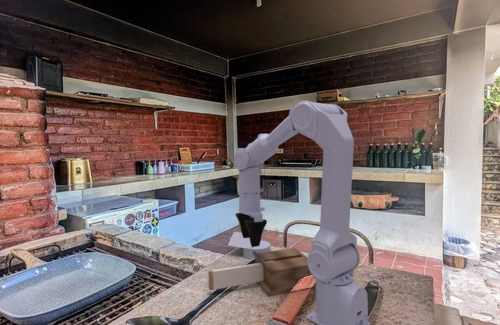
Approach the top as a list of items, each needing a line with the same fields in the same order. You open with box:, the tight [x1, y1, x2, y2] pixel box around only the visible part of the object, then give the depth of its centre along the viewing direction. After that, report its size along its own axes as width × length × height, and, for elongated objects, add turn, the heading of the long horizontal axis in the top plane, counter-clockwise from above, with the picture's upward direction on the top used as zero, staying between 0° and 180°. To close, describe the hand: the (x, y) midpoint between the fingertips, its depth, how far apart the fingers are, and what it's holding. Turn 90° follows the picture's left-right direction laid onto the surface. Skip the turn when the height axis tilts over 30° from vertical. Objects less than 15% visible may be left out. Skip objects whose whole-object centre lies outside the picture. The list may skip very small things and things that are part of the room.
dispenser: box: [253, 247, 316, 298], centre depth 74 cm, size 13×12×7 cm
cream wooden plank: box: [207, 261, 272, 291], centre depth 71 cm, size 17×1×4 cm, turn 108°
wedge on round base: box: [227, 231, 271, 260], centre depth 95 cm, size 9×7×13 cm
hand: (250, 241), depth 78 cm, fingers open, 7 cm apart
